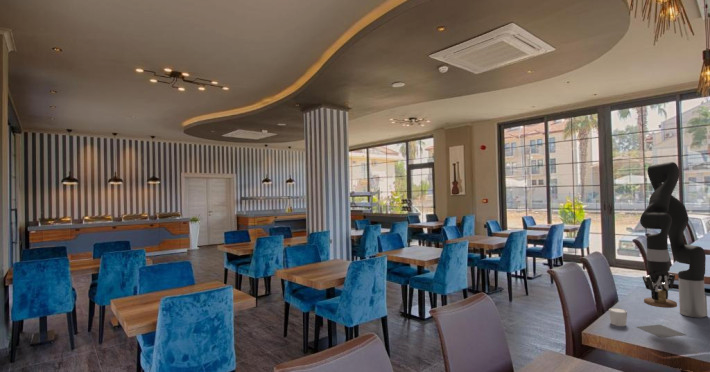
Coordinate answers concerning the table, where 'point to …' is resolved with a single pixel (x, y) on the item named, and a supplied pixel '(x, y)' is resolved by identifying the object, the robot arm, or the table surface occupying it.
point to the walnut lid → (661, 301)
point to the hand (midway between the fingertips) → (659, 299)
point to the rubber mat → (661, 331)
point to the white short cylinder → (618, 316)
